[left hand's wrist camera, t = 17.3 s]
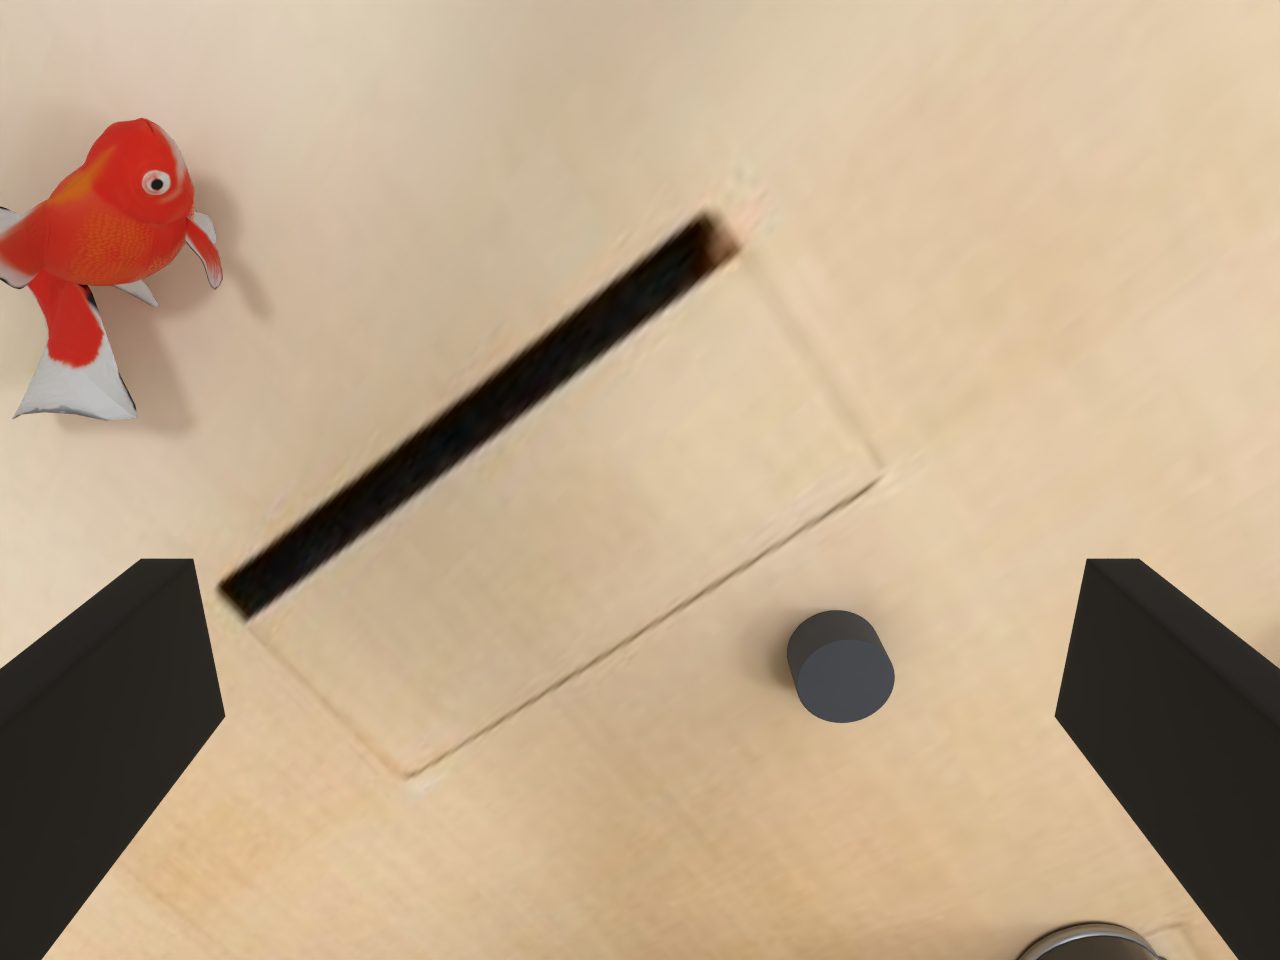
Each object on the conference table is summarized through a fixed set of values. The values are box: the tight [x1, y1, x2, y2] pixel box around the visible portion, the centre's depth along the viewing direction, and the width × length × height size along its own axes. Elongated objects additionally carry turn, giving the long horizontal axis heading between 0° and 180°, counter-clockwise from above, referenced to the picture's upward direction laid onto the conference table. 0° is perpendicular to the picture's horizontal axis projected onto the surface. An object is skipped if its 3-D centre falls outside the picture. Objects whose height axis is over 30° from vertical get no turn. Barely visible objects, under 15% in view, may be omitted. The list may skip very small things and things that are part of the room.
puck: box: [787, 611, 895, 723], centre depth 44 cm, size 5×5×3 cm
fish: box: [0, 118, 223, 421], centre depth 35 cm, size 11×16×10 cm
